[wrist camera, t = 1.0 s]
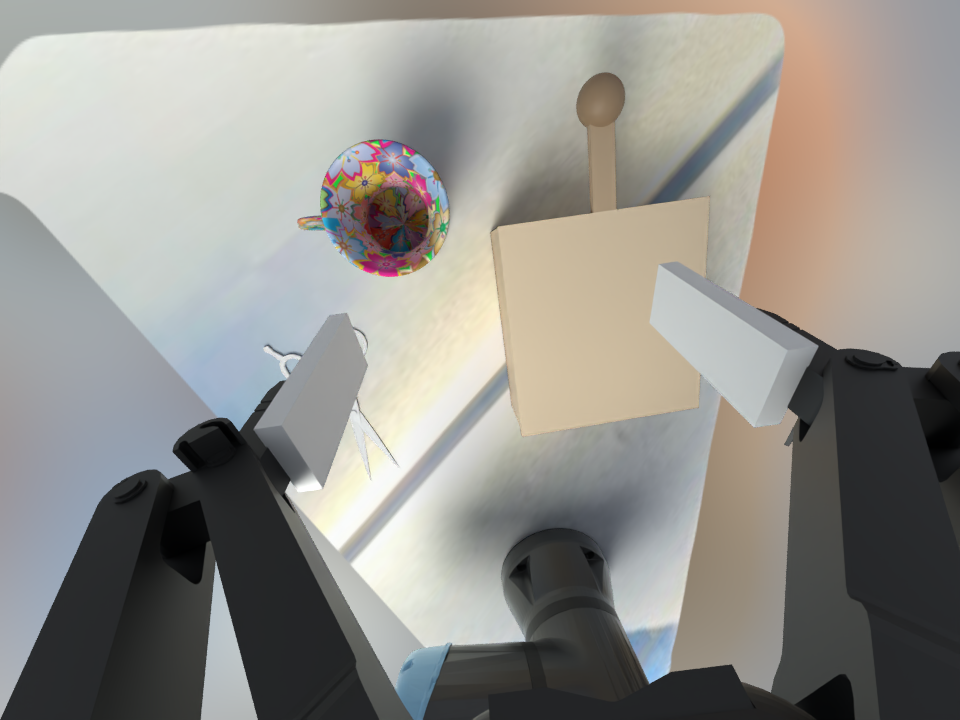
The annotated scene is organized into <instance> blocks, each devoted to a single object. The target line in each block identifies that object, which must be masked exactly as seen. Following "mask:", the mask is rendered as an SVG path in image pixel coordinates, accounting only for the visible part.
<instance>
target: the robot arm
mask: <svg viewBox="0 0 960 720" xmlns="http://www.w3.org/2000/svg"><path fill="white" fill-rule="evenodd" d="M649 323H650V324H651V325H652V326H653V327H654V328H655V329H656V330H657V331H658V332H659V333H660V334H661V335H662V336H663V337H664V338H665V339H666V340H667V341H668V342H669V343H670V344H671V345H672V346H673V347H674V348H675V349H676V350H677V351H678V352H679V353H680V354H681V355H682V356H683V357H684V358H685V359H686V360H687V361H688V362H689V363H690V364H691V365H692V366H693V367H694V368H695V369H696V370H697V371H698V372H699V373H700V374H701V375H702V376H703V377H704V378H705V379H706V380H707V381H708V382H709V383H710V384H711V385H712V386H713V387H714V388H715V389H716V390H717V391H718V392H719V393H720V394H721V395H722V396H723V397H724V398H725V399H726V400H727V401H728V402H729V403H730V404H731V405H732V406H733V407H734V408H735V409H736V410H737V411H738V412H739V413H740V414H741V415H742V416H743V417H744V418H745V419H746V420H747V421H748V422H749V423H750V424H751V425H752V426H753V427H762V426H769V425H776V424H780V423H781V421H782V419H783V417H784V415H785V413H786V411H787V409H788V408H789V409H790V410H791V411H792V412H794V413H795V414H796V415H797V416H798V419H797V421H796V423H795V425H794V427H793V429H792V431H791V433H790V435H789V436H788V439H787V441H786V442H785V444H784V445H786V446H789V445H790V444H791V442H793V451H792V472H791V492H790V512H789V531H788V551H787V571H786V591H785V611H784V631H783V649H782V656H781V661H780V664H779V667H778V669H777V672H776V675H775V677H774V681H773V686H772V690H771V693H770V692H768V691H765V690H763V689H761V688H758V687H755V686H752V685H749V684H747V683H743V682H741V681H740V679H739V677H738V675H737V673H736V672H735V670H734V668H733V666H732V665H724V666H716V667H708V668H700V669H692V670H684V671H675V672H670V673H669V674H667V675H665V676H663V677H661V678H659V679H658V680H656V681H654V682H652V683H650V684H649V682H648V680H647V677H646V675H645V673H644V671H643V669H642V667H641V665H640V663H639V660H638V658H637V656H636V654H635V652H634V650H633V648H632V645H631V643H630V641H629V639H628V637H627V635H626V633H625V631H624V628H623V626H622V624H621V622H620V620H619V618H618V616H617V613H616V611H615V607H614V600H613V593H612V586H611V578H610V572H609V568H608V564H607V562H606V560H605V558H604V556H603V554H602V552H601V550H600V548H599V546H598V545H597V544H596V543H595V542H594V541H593V540H592V539H591V538H590V537H588V536H587V535H585V534H583V533H580V532H577V531H574V530H569V529H552V530H546V531H542V532H539V533H536V534H534V535H531V536H529V537H528V538H526V539H524V540H523V541H521V542H520V543H519V544H518V545H516V546H515V547H514V548H513V549H512V550H511V552H510V553H509V554H508V556H507V558H506V559H505V562H504V564H503V567H502V573H501V579H502V586H503V592H504V596H505V600H506V602H507V604H508V606H509V608H510V610H511V612H512V614H513V616H514V618H515V620H516V621H517V623H518V625H519V627H520V629H521V631H522V633H523V635H524V637H525V640H526V642H508V643H492V644H476V645H452V643H447V644H446V645H445V646H437V647H428V648H420V649H417V650H415V651H413V652H412V653H411V654H410V655H409V656H408V657H407V659H406V660H405V661H404V663H403V666H402V668H401V670H400V673H399V677H398V680H397V683H396V687H395V689H394V687H393V685H392V683H391V682H390V680H389V678H388V676H387V674H386V672H385V670H384V669H383V667H382V665H381V664H380V661H379V660H378V658H377V656H376V654H375V652H374V651H373V649H372V647H371V645H370V643H369V641H368V640H367V638H366V636H365V634H364V632H363V631H362V629H361V627H360V625H359V623H358V622H357V620H356V618H355V616H354V614H353V613H352V611H351V609H350V607H349V605H348V604H347V602H346V600H345V598H344V596H343V595H342V593H341V591H340V589H339V587H338V585H337V583H336V582H335V580H334V578H333V576H332V574H331V573H330V571H329V569H328V567H327V565H326V564H325V562H324V560H323V558H322V556H321V555H320V553H319V551H318V549H317V547H316V545H315V544H314V542H313V540H312V538H311V536H310V535H309V533H308V531H307V529H306V527H305V525H304V524H303V522H302V520H301V518H300V516H299V515H298V513H297V511H296V509H295V507H294V505H293V504H292V502H291V500H290V498H289V497H288V496H287V494H286V493H285V490H286V488H287V486H288V484H289V482H290V481H291V482H292V484H293V485H294V487H295V488H296V489H297V491H298V492H305V491H312V490H319V489H323V487H324V485H325V482H326V479H327V476H328V474H329V471H330V468H331V465H332V463H333V460H334V457H335V455H336V452H337V449H338V446H339V444H340V441H341V438H342V435H343V433H344V430H345V427H346V424H347V422H348V419H349V416H350V413H351V411H352V408H353V405H354V402H355V400H356V397H357V394H358V391H359V389H360V386H361V383H362V381H363V378H364V375H365V372H366V370H367V367H368V364H367V362H366V359H365V357H364V354H363V352H362V349H361V347H360V344H359V342H358V339H357V337H356V334H355V332H354V329H353V327H352V324H351V322H350V319H349V317H348V314H347V313H343V314H336V315H330V316H329V317H328V318H327V320H326V321H325V323H324V324H323V326H322V327H321V329H320V330H319V332H318V333H317V335H316V336H315V338H314V339H313V341H312V342H311V344H310V345H309V347H308V348H307V350H306V351H305V353H304V354H303V356H302V357H301V359H300V360H299V362H298V363H297V365H296V366H295V368H294V369H293V371H292V372H291V374H290V375H289V377H288V378H287V380H285V381H280V382H279V383H277V384H276V385H275V386H274V387H273V388H271V389H270V390H269V391H268V392H267V393H266V395H265V396H264V398H263V399H262V400H261V404H259V405H258V406H257V408H256V409H255V410H254V411H255V412H254V413H252V415H251V416H250V417H249V419H248V420H247V422H246V423H245V424H244V426H243V427H242V429H241V430H240V431H238V430H237V429H236V427H235V426H234V425H233V423H232V422H231V421H230V420H229V419H227V418H216V419H211V420H208V421H206V422H203V423H201V424H198V425H197V426H195V427H194V428H192V429H190V430H188V431H187V432H186V433H185V434H184V435H183V436H181V437H180V438H179V439H178V441H177V442H176V443H175V445H174V447H173V453H174V454H175V455H176V456H177V457H178V458H179V459H180V460H181V461H182V462H183V463H184V464H185V465H186V466H187V467H188V468H189V469H190V470H191V471H189V472H187V473H184V474H181V475H178V476H176V477H173V478H170V479H167V478H166V477H165V476H164V475H163V474H162V473H161V472H159V471H158V470H146V471H143V472H139V473H137V474H134V475H132V476H130V477H128V478H126V479H124V480H122V481H121V482H120V483H118V484H116V485H115V486H114V487H113V488H112V489H111V490H110V491H109V492H108V493H107V494H106V495H105V496H104V497H103V498H102V500H101V501H100V502H99V504H98V506H97V508H96V510H95V512H94V515H93V517H92V519H91V521H90V523H89V525H88V528H87V530H86V532H85V534H84V537H83V539H82V541H81V543H80V545H79V548H78V550H77V552H76V554H75V556H74V559H73V561H72V563H71V565H70V567H69V570H68V572H67V574H66V576H65V578H64V581H63V583H62V585H61V587H60V589H59V592H58V594H57V596H56V598H55V600H54V603H53V605H52V607H51V609H50V611H49V614H48V616H47V618H46V620H45V623H44V625H43V627H42V629H41V631H40V633H39V636H38V638H37V640H36V642H35V645H34V647H33V649H32V651H31V653H30V656H29V658H28V660H27V662H26V665H25V667H24V669H23V671H22V673H21V675H20V677H19V680H18V682H17V684H16V686H15V688H14V691H13V693H12V695H11V697H10V699H9V702H8V704H7V706H6V708H5V711H4V713H3V715H2V717H1V719H0V720H201V708H202V699H203V688H204V677H205V667H206V656H207V645H208V635H209V625H210V614H211V604H212V593H213V582H214V572H215V562H217V566H218V570H219V574H220V578H221V581H222V585H223V589H224V593H225V596H226V600H227V604H228V608H229V612H230V616H231V619H232V623H233V626H234V631H235V634H236V638H237V642H238V646H239V650H240V653H241V657H242V661H243V665H244V668H245V672H246V676H247V680H248V684H249V687H250V691H251V695H252V699H253V703H254V706H255V710H256V714H257V718H258V720H960V352H947V353H943V354H941V355H940V356H939V357H938V359H937V360H936V361H935V363H934V364H933V366H932V367H931V368H911V367H902V366H901V365H900V364H899V363H898V362H896V361H895V360H893V359H891V358H889V357H887V356H884V355H881V354H879V353H875V352H871V351H867V350H860V349H840V350H837V349H835V348H833V347H832V346H830V345H828V344H826V343H825V342H823V341H821V340H819V339H818V338H816V337H814V336H813V335H811V334H809V333H807V332H806V331H804V330H800V328H799V327H797V326H795V325H794V324H792V323H788V321H786V320H785V319H783V318H781V317H780V316H778V315H776V314H774V313H771V312H768V311H765V310H762V309H758V308H754V307H753V306H751V305H750V304H748V303H746V302H744V301H742V300H741V299H739V298H738V297H736V296H734V295H733V294H731V293H729V292H728V291H726V290H724V289H723V288H721V287H719V286H718V285H716V284H714V283H713V282H711V281H709V280H708V279H706V278H704V277H703V276H701V275H699V274H698V273H696V272H694V271H693V270H691V269H689V268H688V267H686V266H684V265H683V264H681V263H679V262H678V261H676V262H669V263H663V264H659V265H658V271H657V277H656V284H655V290H654V296H653V303H652V309H651V316H650V322H649Z"/></svg>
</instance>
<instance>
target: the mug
mask: <svg viewBox="0 0 960 720" xmlns="http://www.w3.org/2000/svg"><path fill="white" fill-rule="evenodd" d="M320 207H321V215H322V216H310V217H304V218H300V219H298V226H299V228H300V229H302V230H326V232H327V234H328V236H329V238H330V240H331V242H332V243H333V245H334V246H335V248H336V249H337V250H338V251H339V252H340V254H341V255H342V256H343V257H344V258H345V259H347V260H348V261H349V262H350V263H352V264H353V265H354V266H356V267H358V268H359V269H361V270H363V271H366V272H368V273H371V274H374V275H379V276H386V277H394V276H402V275H406V274H410V273H412V272H415V271H417V270H419V269H420V268H422V267H423V266H425V265H426V264H427V263H429V262H430V261H431V260H432V259H433V258H434V256H435V255H436V254H437V253H438V251H439V250H440V248H441V246H442V244H443V242H444V240H445V238H446V234H447V231H448V226H449V202H448V197H447V193H446V190H445V187H444V185H443V183H442V180H441V179H440V177H439V175H438V173H437V172H436V170H435V169H434V168H433V166H432V165H431V164H430V163H429V162H428V161H427V160H426V159H425V158H424V157H423V156H422V155H421V154H419V153H418V152H416V151H415V150H413V149H412V148H410V147H408V146H406V145H404V144H401V143H398V142H395V141H390V140H369V141H364V142H361V143H358V144H356V145H354V146H352V147H350V148H348V149H347V150H345V151H344V152H343V153H342V154H340V155H339V156H338V157H337V158H336V160H335V161H334V162H333V163H332V165H331V166H330V168H329V170H328V171H327V174H326V176H325V178H324V181H323V185H322V189H321V197H320Z"/></svg>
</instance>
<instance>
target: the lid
mask: <svg viewBox="0 0 960 720" xmlns="http://www.w3.org/2000/svg"><path fill="white" fill-rule="evenodd" d="M624 101H625V90H624V86H623V84H622V82H621V80H620V79H619V78H618V77H617V76H616V75H614V74H611V73H599V74H596V75H595V76H593V77H591V78H590V79H589V80H588V81H587V82H586V83H585V84H584V85H583V87H582V89H581V90H580V92H579V95H578V98H577V104H576V109H577V115H578V118H579V120H580V122H581V123H582V124H583V125H584V126H585V127H587V135H588V159H589V184H590V208H591V213H589V214H582V215H575V216H568V217H561V218H554V219H547V220H540V221H533V222H526V223H519V224H513V225H506V226H499V227H497V232H498V241H499V249H500V258H501V266H502V275H503V283H504V292H505V301H506V309H507V318H508V326H509V335H510V343H511V352H512V360H513V369H514V377H515V386H516V394H517V403H518V411H519V420H520V428H521V435H522V437H525V436H531V435H537V434H543V433H549V432H555V431H561V430H567V429H573V428H579V427H585V426H591V425H597V424H603V423H609V422H615V421H621V420H627V419H633V418H639V417H646V416H652V415H658V414H664V413H670V412H676V411H682V410H688V409H694V408H699V390H700V373H699V372H698V371H697V370H696V369H695V368H694V367H693V366H692V365H691V364H690V363H689V362H688V361H687V360H686V359H685V358H684V357H683V356H682V355H681V354H680V353H679V352H678V351H677V350H676V349H675V348H674V347H673V346H672V345H671V344H670V343H669V342H668V341H667V340H666V339H665V338H664V337H663V336H662V335H661V334H660V333H659V332H658V331H657V330H656V329H655V328H654V327H653V326H652V325H651V324H650V323H649V322H650V316H651V309H652V303H653V296H654V290H655V284H656V277H657V271H658V265H659V264H663V263H669V262H676V261H678V262H679V263H681V264H683V265H684V266H686V267H688V268H689V269H691V270H693V271H694V272H696V273H698V274H699V275H701V276H703V277H704V278H706V259H707V241H708V222H709V203H710V196H707V197H700V198H693V199H686V200H679V201H672V202H665V203H658V204H651V205H644V206H637V207H630V208H623V209H616V159H615V120H616V119H617V118H618V116H619V115H620V113H621V111H622V108H623V106H624Z"/></svg>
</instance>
